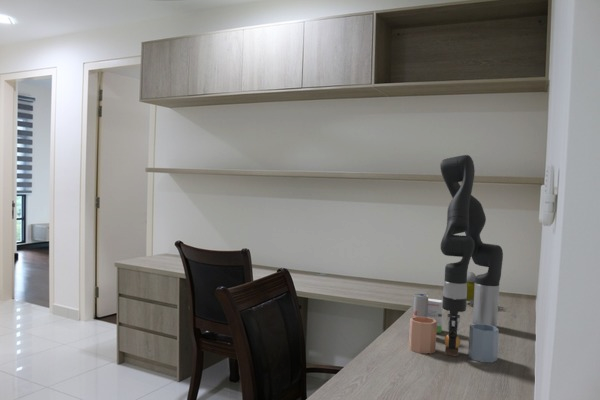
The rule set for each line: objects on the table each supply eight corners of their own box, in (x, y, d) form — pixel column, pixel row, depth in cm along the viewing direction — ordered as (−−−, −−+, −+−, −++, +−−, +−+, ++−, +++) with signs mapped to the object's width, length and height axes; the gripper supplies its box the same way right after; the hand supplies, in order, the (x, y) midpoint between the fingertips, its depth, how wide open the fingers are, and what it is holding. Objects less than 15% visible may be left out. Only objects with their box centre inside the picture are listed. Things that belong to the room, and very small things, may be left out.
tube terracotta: (417, 343, 172) (419, 315, 172) (439, 350, 166) (440, 320, 166) (404, 348, 166) (406, 319, 166) (426, 355, 160) (427, 324, 160)
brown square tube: (445, 350, 166) (445, 344, 166) (457, 352, 164) (458, 346, 164) (445, 354, 162) (445, 348, 162) (457, 356, 161) (458, 350, 161)
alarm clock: (475, 307, 230) (477, 275, 229) (460, 305, 232) (461, 273, 232) (474, 301, 241) (476, 271, 241) (460, 300, 243) (461, 270, 243)
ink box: (442, 330, 190) (443, 299, 190) (440, 333, 185) (442, 302, 185) (419, 326, 193) (421, 297, 193) (417, 330, 189) (419, 299, 188)
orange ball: (448, 345, 167) (449, 330, 166) (462, 349, 163) (463, 334, 163) (441, 348, 163) (442, 333, 163) (455, 352, 160) (455, 337, 159)
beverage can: (416, 331, 186) (418, 292, 185) (428, 335, 183) (430, 294, 182) (409, 334, 182) (411, 294, 181) (422, 338, 179) (424, 297, 178)
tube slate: (476, 351, 166) (477, 322, 166) (500, 358, 160) (502, 328, 160) (464, 356, 160) (466, 326, 160) (489, 364, 154) (490, 332, 154)
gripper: (443, 290, 170) (440, 338, 171) (442, 298, 157) (439, 351, 157) (466, 292, 168) (463, 341, 169) (467, 301, 155) (464, 354, 155)
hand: (452, 346), depth 163 cm, fingers closed on orange ball, 5 cm apart
